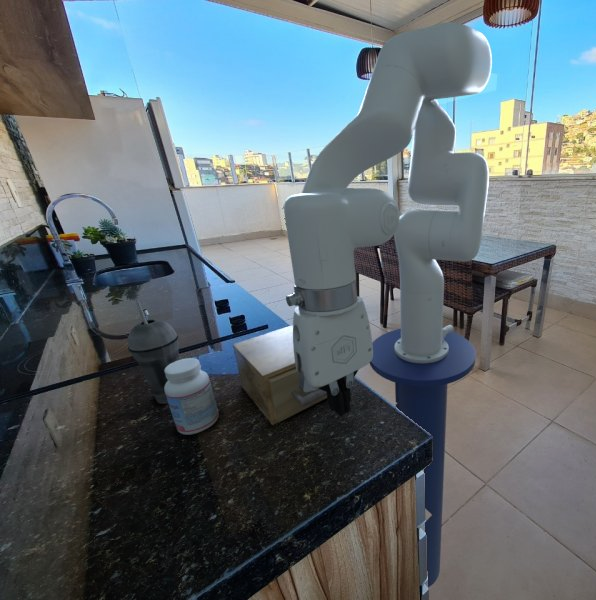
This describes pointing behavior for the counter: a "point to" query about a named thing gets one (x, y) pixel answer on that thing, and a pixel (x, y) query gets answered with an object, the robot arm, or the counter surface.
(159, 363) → the beverage cup
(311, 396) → the drawer
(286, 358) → the cabinet
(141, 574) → the counter surface
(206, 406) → the pill bottle
